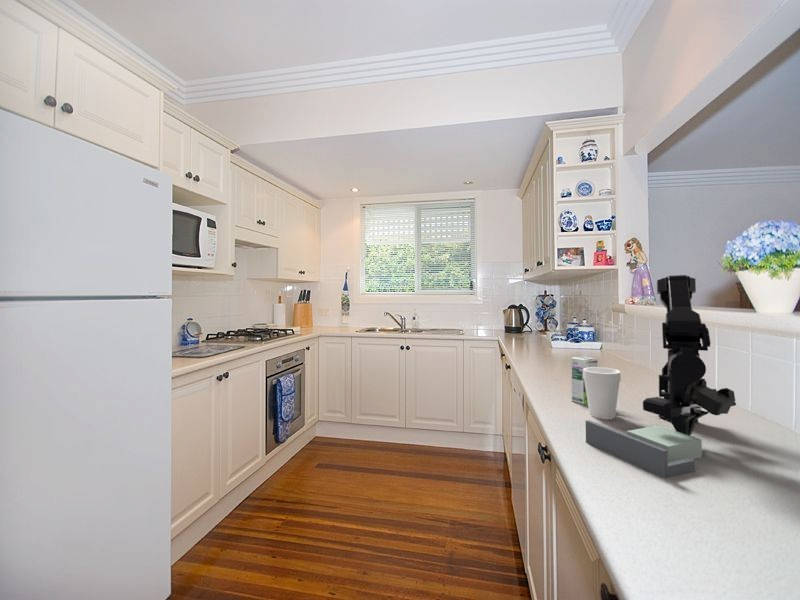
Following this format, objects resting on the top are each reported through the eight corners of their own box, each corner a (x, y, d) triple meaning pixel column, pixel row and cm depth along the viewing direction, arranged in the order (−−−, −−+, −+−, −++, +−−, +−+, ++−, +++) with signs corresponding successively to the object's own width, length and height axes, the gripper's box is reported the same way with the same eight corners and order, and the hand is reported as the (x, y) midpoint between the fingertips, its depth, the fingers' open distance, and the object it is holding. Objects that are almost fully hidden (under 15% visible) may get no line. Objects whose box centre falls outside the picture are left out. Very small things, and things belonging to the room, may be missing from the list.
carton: (658, 442, 83) (658, 425, 83) (701, 458, 75) (701, 439, 75) (627, 448, 80) (627, 431, 80) (668, 466, 72) (668, 446, 72)
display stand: (613, 437, 86) (612, 416, 86) (695, 470, 69) (694, 444, 69) (585, 441, 83) (585, 420, 83) (664, 477, 66) (663, 451, 66)
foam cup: (621, 423, 95) (620, 375, 95) (582, 417, 100) (581, 371, 100) (621, 413, 103) (620, 369, 103) (585, 408, 108) (584, 366, 108)
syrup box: (570, 401, 116) (570, 357, 116) (583, 398, 119) (582, 355, 119) (586, 405, 111) (585, 359, 111) (598, 403, 114) (598, 358, 114)
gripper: (693, 384, 71) (695, 462, 71) (754, 376, 76) (755, 448, 76) (640, 373, 81) (641, 441, 81) (696, 367, 87) (697, 430, 87)
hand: (684, 440), depth 81 cm, fingers closed
